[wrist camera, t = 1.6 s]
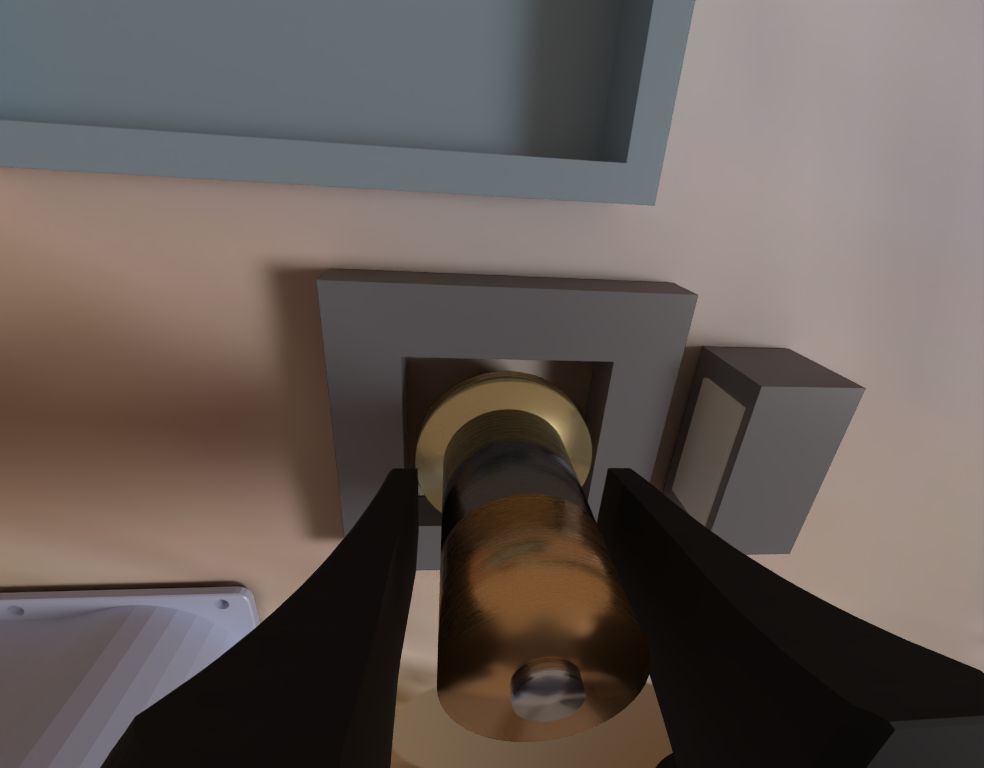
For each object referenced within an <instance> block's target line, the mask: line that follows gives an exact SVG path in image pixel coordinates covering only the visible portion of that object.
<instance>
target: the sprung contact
mask: <svg viewBox="0 0 984 768" xmlns="http://www.w3.org/2000/svg"><path fill="white" fill-rule="evenodd" d="M504 409H514V410H522V411H526V412H530V413H533V414H535V415H537V416H539V417H541V418H543V419H544V420H546V421H547V422H549V423H550V424H551V425H552V426H553V427H554V428H555V429H556V431H557V432H558V434H559V435H560V437H561V439H562V441H563V444H564V446H565V448H566V451H567V453H568V456H569V458H570V460H571V463H572V465H573V468H574V470H575V472H576V475H577V477H578V480H579V482H580V484H581V487H582V486H583V484H584V483H585V481H586V478H587V476H588V473H589V470H590V466H591V461H592V443H591V438H590V434H589V431H588V429H587V426H586V424H585V422H584V420H583V418H582V417H581V415H580V413H579V411H578V409H577V408H576V406H575V404H574V403H573V401H572V400H571V399H570V398H569V396H568V395H567V394H565V393H564V392H563V391H562V390H561V389H560V388H558V387H557V386H556V385H554V384H553V383H551V382H549V381H547V380H545V379H543V378H540V377H538V376H535V375H532V374H527V373H522V372H514V371H497V372H490V373H484V374H481V375H477V376H474V377H471V378H469V379H467V380H464V381H462V382H460V383H458V384H457V385H455V386H453V387H452V388H450V389H449V390H448V391H446V392H445V393H444V394H443V395H442V396H441V397H440V398H439V399H438V400H437V401H436V402H435V403H434V404H433V405H432V407H431V408H430V409H429V411H428V412H427V414H426V416H425V418H424V419H423V422H422V425H421V427H420V430H419V435H418V440H417V448H416V459H415V466H416V468H418V482H419V484H420V487H421V489H422V491H423V493H424V494H425V496H426V497H427V499H428V500H429V501H430V503H431V504H432V505H433V506H434V507H435V508H436V509H437V510H438V511H440V512H441V513H442V489H443V460H444V454H445V450H446V448H447V445H448V443H449V441H450V440H451V438H452V436H453V435H454V434H455V433H456V432H457V430H458V429H460V428H461V427H462V426H463V425H464V424H465V423H467V422H468V421H470V420H471V419H473V418H475V417H477V416H479V415H482V414H484V413H487V412H491V411H496V410H504Z"/></svg>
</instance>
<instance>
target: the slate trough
mask: <svg viewBox="0 0 984 768" xmlns="http://www.w3.org/2000/svg"><path fill="white" fill-rule="evenodd" d="M694 4H695V0H0V167H14V168H31V169H47V170H64V171H81V172H98V173H115V174H131V175H148V176H165V177H182V178H198V179H215V180H232V181H249V182H265V183H282V184H299V185H316V186H332V187H349V188H366V189H383V190H399V191H416V192H433V193H450V194H466V195H483V196H500V197H517V198H534V199H550V200H567V201H584V202H601V203H617V204H634V205H651V206H655V201H656V196H657V190H658V185H659V180H660V175H661V170H662V165H663V160H664V155H665V150H666V145H667V140H668V135H669V130H670V125H671V120H672V115H673V110H674V105H675V100H676V95H677V89H678V84H679V79H680V74H681V69H682V64H683V59H684V54H685V49H686V44H687V39H688V34H689V29H690V24H691V19H692V14H693V9H694Z"/></svg>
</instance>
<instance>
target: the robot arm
mask: <svg viewBox="0 0 984 768" xmlns="http://www.w3.org/2000/svg"><path fill="white" fill-rule="evenodd" d="M597 525H598V528H599V530H600V532H601V535H602V537H603V540H604V542H605V544H606V547H607V549H608V552H609V554H610V556H611V559H612V561H613V564H614V566H615V568H616V571H617V573H618V576H619V578H620V580H621V583H622V585H623V588H624V590H625V592H626V595H627V597H628V600H629V602H630V604H631V607H632V609H633V612H634V614H635V616H636V619H637V621H638V624H639V626H640V629H641V631H642V633H643V636H644V638H645V641H646V643H647V645H648V648H649V650H650V656H651V668H650V673H649V674H650V677H651V681H652V684H653V687H654V690H655V692H656V697H657V700H658V703H659V706H660V709H661V713H662V716H663V719H664V723H665V726H666V730H667V733H668V737H669V740H670V744H671V747H672V750H673V754H674V758H675V761H676V765H677V768H984V673H983V672H982V671H980V670H978V669H976V668H973V667H971V666H968V665H966V664H963V663H961V662H959V661H956V660H954V659H951V658H949V657H946V656H944V655H942V654H939V653H937V652H934V651H932V650H929V649H927V648H924V647H922V646H920V645H917V644H915V643H912V642H910V641H907V640H905V639H903V638H901V637H898V636H896V635H894V634H892V633H890V632H887V631H885V630H883V629H881V628H879V627H877V626H875V625H872V624H870V623H868V622H866V621H864V620H862V619H859V618H857V617H855V616H853V615H851V614H849V613H847V612H845V611H843V610H841V609H839V608H837V607H835V606H833V605H831V604H829V603H828V602H826V601H824V600H822V599H820V598H818V597H816V596H815V595H813V594H811V593H809V592H807V591H805V590H803V589H802V588H800V587H798V586H796V585H794V584H793V583H791V582H789V581H787V580H786V579H784V578H782V577H780V576H779V575H777V574H775V573H774V572H772V571H771V570H769V569H767V568H766V567H764V566H762V565H761V564H759V563H758V562H756V561H754V560H753V559H751V558H750V557H748V556H746V555H745V554H743V553H742V552H740V551H739V550H737V549H736V548H734V547H733V546H732V545H730V544H729V543H727V542H726V541H724V540H723V539H722V538H720V537H719V536H717V535H716V534H715V533H713V532H712V531H710V530H709V529H708V528H706V527H705V526H704V525H702V524H701V523H700V522H698V521H697V520H696V519H694V518H693V517H692V516H690V515H689V514H688V513H687V512H685V511H684V510H683V509H682V508H680V507H679V506H678V505H676V504H675V503H674V502H673V501H671V500H670V499H669V498H668V497H666V496H665V495H664V494H663V493H662V492H660V491H659V490H658V489H657V488H655V487H654V486H653V485H652V484H650V483H649V482H648V481H647V480H645V479H644V478H643V477H642V476H640V475H639V474H638V473H636V472H635V471H634V470H632V469H631V468H608V470H607V475H606V480H605V484H604V489H603V494H602V499H601V504H600V509H599V514H598V519H597ZM418 535H419V512H418V468H393V469H392V470H391V471H390V472H389V473H388V475H387V477H386V479H385V481H384V482H383V484H382V486H381V487H380V489H379V491H378V492H377V494H376V495H375V497H374V498H373V500H372V501H371V503H370V504H369V506H368V507H367V509H366V510H365V511H364V513H363V514H362V516H361V517H360V518H359V520H358V521H357V522H356V524H355V525H354V526H353V528H352V529H351V530H350V532H349V533H348V534H347V535H346V536H345V538H344V539H343V540H342V541H341V543H340V544H339V545H338V546H337V547H336V549H335V550H334V551H333V552H332V553H331V555H330V556H329V557H328V558H327V559H326V560H325V561H324V563H323V564H322V565H321V566H320V567H319V568H318V569H317V570H316V571H315V572H314V573H313V574H312V575H311V576H310V577H309V578H308V579H307V581H306V582H305V583H304V584H303V585H302V586H301V587H300V588H299V589H298V590H297V591H295V592H294V593H293V594H292V595H291V596H290V597H289V598H288V599H287V600H286V601H285V602H284V603H283V604H282V605H281V606H280V607H278V608H277V609H276V610H275V611H274V612H273V613H272V614H271V615H270V616H269V617H267V618H266V619H265V620H264V621H263V622H262V623H261V624H260V621H259V617H258V613H257V609H256V605H255V601H254V596H253V594H252V592H251V591H250V590H248V589H247V588H244V587H238V586H237V587H199V588H162V589H125V590H87V591H50V592H13V593H0V768H390V764H391V752H392V740H393V728H394V717H395V705H396V694H397V683H398V674H399V667H400V659H401V653H402V648H403V642H404V636H405V631H406V625H407V619H408V614H409V608H410V602H411V596H412V591H413V585H414V579H415V573H416V565H417V551H418Z"/></svg>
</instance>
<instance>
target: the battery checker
mask: <svg viewBox="0 0 984 768" xmlns="http://www.w3.org/2000/svg"><path fill="white" fill-rule="evenodd" d="M316 281H317V290H318V299H319V308H320V317H321V327H322V336H323V345H324V354H325V363H326V372H327V382H328V391H329V400H330V409H331V418H332V427H333V437H334V446H335V455H336V464H337V473H338V482H339V492H340V501H341V510H342V519H343V528H344V537H345V536H346V535H347V534H348V533H349V532H350V530H351V529H352V528H353V526H354V525H355V524H356V522H357V521H358V520H359V518H360V517H361V516H362V514H363V513H364V511H365V510H366V509H367V507H368V506H369V504H370V503H371V501H372V500H373V498H374V497H375V495H376V494H377V492H378V491H379V489H380V487H381V486H382V484H383V482H384V481H385V479H386V477H387V475H388V473H389V472H390V471H391V470H392V469H393V468H409V449H408V410H407V371H406V357H428V358H472V359H515V360H559V361H595V366H594V372H593V378H592V384H591V390H590V396H589V402H588V408H587V414H586V419H585V424H586V426H587V429H588V431H589V434H590V438H591V443H592V461H591V466H590V470H589V473H588V476H587V478H586V481H585V483H584V484H583V486H582V489H583V492H584V494H585V496H586V499H587V501H588V504H589V506H590V508H591V511H592V513H593V516H594V518H595V520H596V523H597V519H598V514H599V509H600V504H601V499H602V494H603V489H604V484H605V480H606V475H607V470H608V468H631V469H632V470H634V471H635V472H636V473H638V474H639V475H640V476H642V477H643V478H644V479H645V480H647V481H648V482H649V483H650V481H651V477H652V473H653V469H654V465H655V461H656V457H657V454H658V450H659V446H660V442H661V438H662V434H663V430H664V426H665V423H666V419H667V415H668V411H669V407H670V403H671V399H672V395H673V391H674V388H675V384H676V380H677V376H678V372H679V368H680V364H681V360H682V356H683V353H684V349H685V345H686V341H687V337H688V333H689V329H690V325H691V321H692V318H693V314H694V310H695V306H696V302H697V298H698V295H697V294H695V293H693V292H691V291H689V290H687V289H685V288H683V287H681V286H679V285H677V284H675V283H665V282H641V281H617V280H594V279H570V278H546V277H522V276H498V275H474V274H450V273H426V272H402V271H378V270H354V269H330V270H329V271H327V272H326V273H325V274H324V275H322V276H321V277H320V278H318V279H317V280H316ZM865 389H866V388H864V387H862V386H860V385H858V384H856V383H854V382H853V381H851V380H849V379H847V378H845V377H843V376H841V375H839V374H837V373H835V372H833V371H831V370H829V369H827V368H825V367H823V366H822V365H820V364H818V363H816V362H814V361H812V360H810V359H808V358H806V357H804V356H802V355H800V354H798V353H796V352H794V351H792V350H791V349H777V348H740V347H703V349H702V353H701V357H700V360H699V364H698V367H697V371H696V375H695V378H694V382H693V386H692V389H691V393H690V396H689V400H688V404H687V407H686V411H685V415H684V418H683V422H682V425H681V429H680V433H679V436H678V440H677V444H676V447H675V451H674V454H673V458H672V462H671V465H670V469H669V473H668V476H667V480H666V483H665V487H664V491H663V494H664V495H665V496H666V497H668V498H669V499H670V500H671V501H673V502H674V503H675V504H676V505H678V506H679V507H680V508H682V509H683V510H684V511H685V512H687V513H688V514H689V515H690V516H692V517H693V518H694V519H696V520H697V521H698V522H700V523H701V524H702V525H704V526H705V527H706V528H708V529H709V530H710V531H712V532H713V533H715V534H716V535H717V536H719V537H720V538H722V539H723V540H724V541H726V542H727V543H729V544H730V545H732V546H733V547H734V548H736V549H737V550H739V551H740V552H742V553H743V554H745V555H753V554H790V552H791V550H792V548H793V545H794V543H795V541H796V539H797V537H798V534H799V532H800V530H801V528H802V526H803V524H804V521H805V519H806V517H807V515H808V513H809V511H810V508H811V506H812V504H813V502H814V500H815V498H816V495H817V493H818V491H819V489H820V487H821V484H822V482H823V480H824V478H825V476H826V474H827V471H828V469H829V467H830V465H831V463H832V461H833V458H834V456H835V454H836V452H837V450H838V448H839V445H840V443H841V441H842V439H843V437H844V434H845V432H846V430H847V428H848V426H849V424H850V421H851V419H852V417H853V415H854V413H855V411H856V408H857V406H858V404H859V402H860V400H861V398H862V395H863V393H864V391H865ZM418 512H419V535H418V551H417V565H416V570H440V560H441V525H442V513H441V512H440V511H438V510H437V509H436V508H435V507H434V506H433V505H432V504H431V503H430V501H429V500H428V499H427V497H426V496H422V497H418Z"/></svg>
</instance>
